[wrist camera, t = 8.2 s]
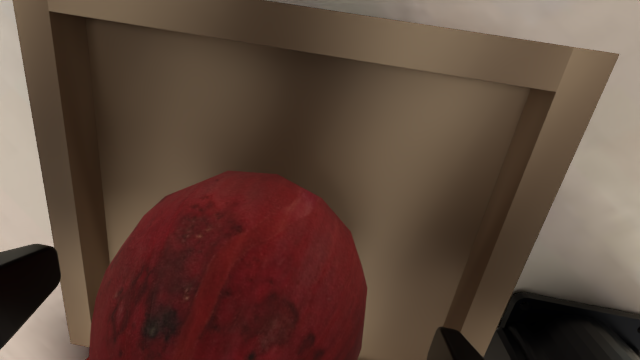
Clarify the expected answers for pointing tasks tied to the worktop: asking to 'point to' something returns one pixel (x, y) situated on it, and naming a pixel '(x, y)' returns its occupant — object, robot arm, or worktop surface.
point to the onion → (233, 278)
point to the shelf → (310, 141)
